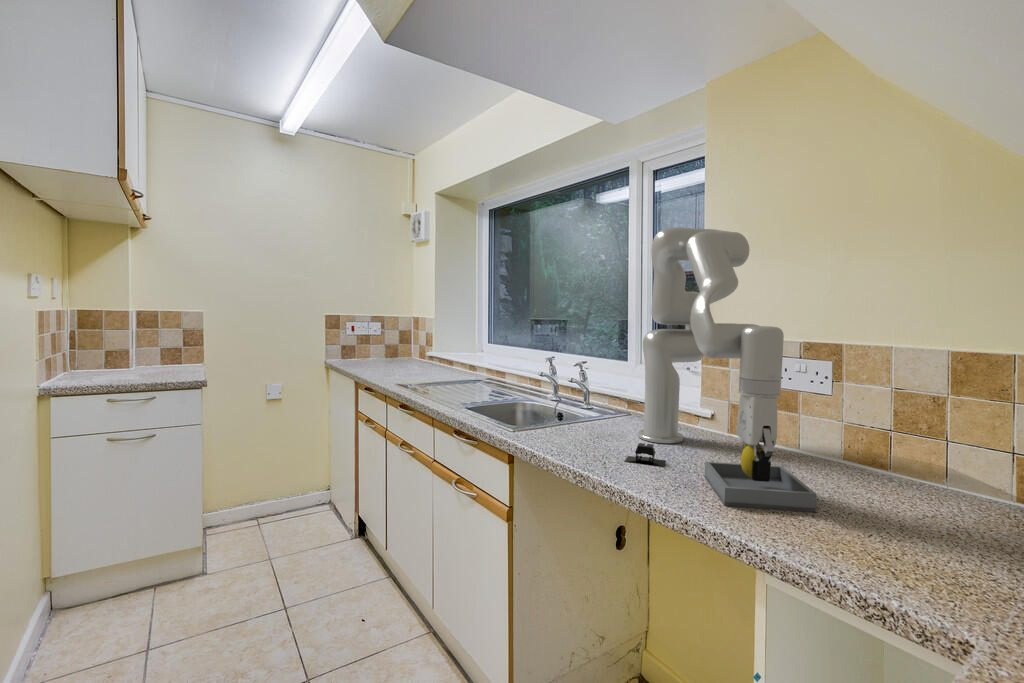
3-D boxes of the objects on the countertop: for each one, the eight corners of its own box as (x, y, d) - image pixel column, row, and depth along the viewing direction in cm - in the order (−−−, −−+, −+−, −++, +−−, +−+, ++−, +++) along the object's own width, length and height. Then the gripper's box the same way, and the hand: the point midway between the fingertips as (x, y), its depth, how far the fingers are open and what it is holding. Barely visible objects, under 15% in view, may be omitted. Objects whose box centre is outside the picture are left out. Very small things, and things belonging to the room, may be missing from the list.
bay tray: (704, 476, 107) (705, 461, 107) (781, 481, 105) (782, 466, 105) (724, 505, 92) (725, 487, 91) (815, 512, 89) (816, 493, 89)
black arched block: (672, 462, 119) (673, 444, 119) (670, 471, 112) (671, 452, 112) (621, 456, 124) (622, 438, 123) (616, 464, 117) (617, 446, 117)
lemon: (775, 482, 97) (778, 444, 97) (759, 487, 94) (761, 447, 94) (750, 474, 102) (752, 437, 101) (733, 478, 99) (735, 440, 99)
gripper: (727, 380, 106) (723, 460, 107) (754, 394, 89) (749, 489, 90) (764, 381, 105) (759, 463, 106) (797, 396, 88) (792, 492, 89)
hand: (755, 474), depth 98 cm, fingers closed on lemon, 5 cm apart
